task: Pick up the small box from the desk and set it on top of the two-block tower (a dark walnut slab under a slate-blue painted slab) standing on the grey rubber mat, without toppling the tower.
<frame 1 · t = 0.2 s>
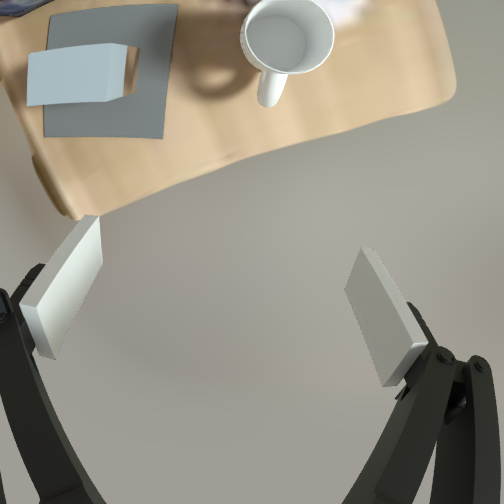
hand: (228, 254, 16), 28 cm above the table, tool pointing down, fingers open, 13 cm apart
mat: (102, 70, 33), on the table
block bottom: (101, 71, 33), resting on mat, touching block top
mug: (270, 57, 34), on the table
block top: (85, 72, 28), point 5 cm above the table, touching block bottom
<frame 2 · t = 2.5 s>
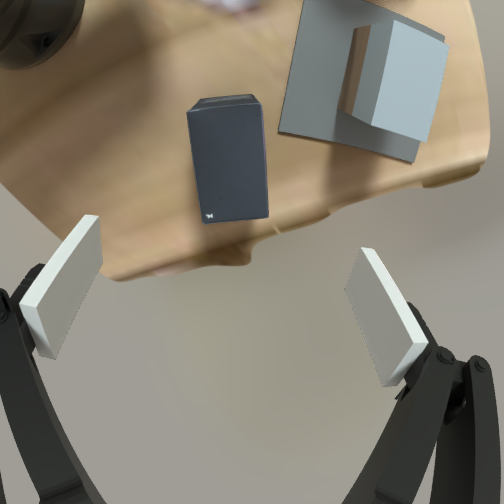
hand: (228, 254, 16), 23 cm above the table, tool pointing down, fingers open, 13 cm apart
mat: (368, 74, 31), on the table
block bottom: (370, 75, 31), resting on mat, touching block top
small box: (231, 139, 35), on the table
block top: (388, 77, 26), point 5 cm above the table, touching block bottom
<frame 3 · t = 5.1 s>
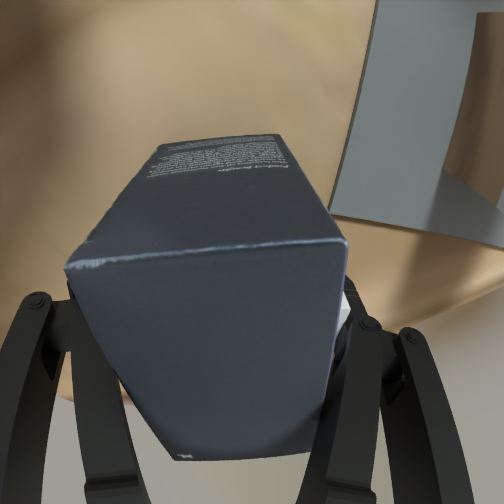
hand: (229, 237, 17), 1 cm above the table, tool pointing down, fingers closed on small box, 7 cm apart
mat: (493, 105, 13), on the table
block bottom: (497, 106, 13), resting on mat, touching block top
small box: (230, 229, 18), on the table, touching gripper
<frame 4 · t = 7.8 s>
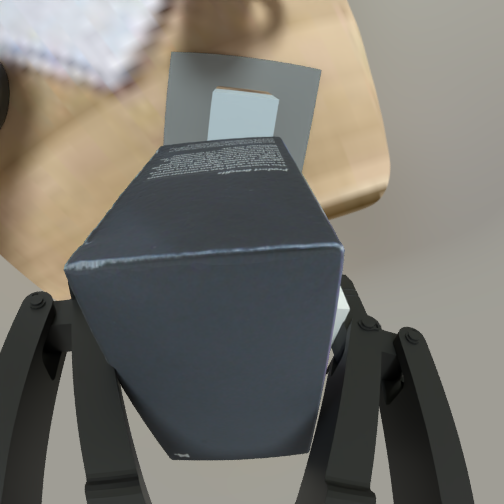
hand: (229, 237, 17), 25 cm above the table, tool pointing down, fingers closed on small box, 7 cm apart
mat: (237, 127, 38), on the table
small box: (230, 231, 18), point 25 cm above the table, touching gripper
block top: (238, 135, 33), point 5 cm above the table, touching block bottom
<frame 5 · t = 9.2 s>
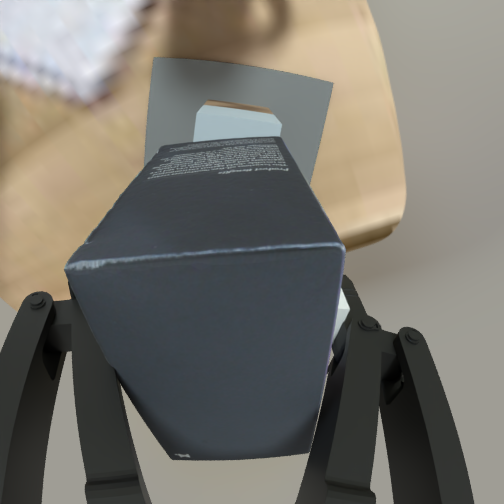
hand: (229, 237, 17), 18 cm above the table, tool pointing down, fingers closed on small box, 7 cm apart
mat: (230, 149, 32), on the table
block bottom: (230, 149, 32), resting on mat, touching block top
small box: (230, 231, 18), point 17 cm above the table, touching gripper
block top: (230, 163, 28), point 5 cm above the table, touching block bottom
when the fingers open (13 cm above the table, at t = 10.6 s): small box drops 1 cm, resting on block top.
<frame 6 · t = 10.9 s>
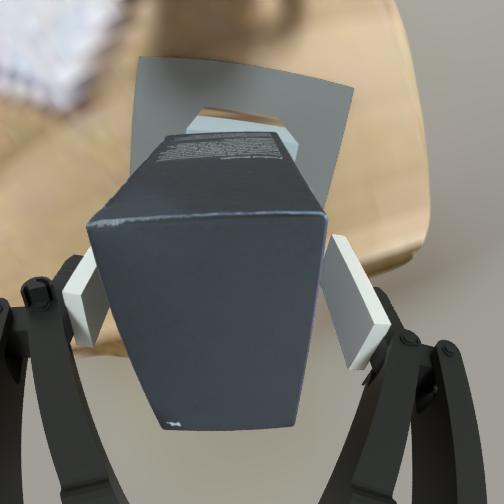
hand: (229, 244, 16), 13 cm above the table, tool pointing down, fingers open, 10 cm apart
mat: (231, 166, 28), on the table
block bottom: (231, 167, 27), resting on mat, touching block top
small box: (226, 218, 19), point 10 cm above the table, touching block top
block top: (231, 188, 23), point 5 cm above the table, touching block bottom, small box
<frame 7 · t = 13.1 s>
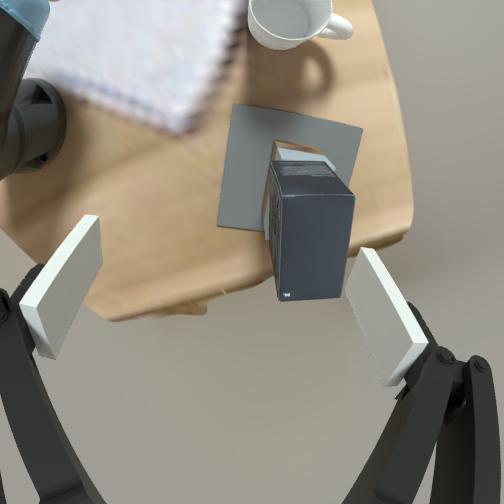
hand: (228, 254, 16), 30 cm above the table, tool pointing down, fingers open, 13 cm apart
mat: (288, 175, 45), on the table
block bottom: (288, 176, 44), resting on mat, touching block top
mug: (293, 27, 34), on the table
small box: (297, 204, 36), point 10 cm above the table, touching block top
block top: (293, 189, 40), point 5 cm above the table, touching block bottom, small box
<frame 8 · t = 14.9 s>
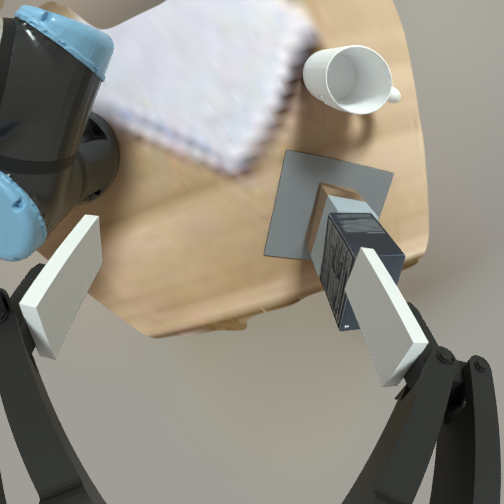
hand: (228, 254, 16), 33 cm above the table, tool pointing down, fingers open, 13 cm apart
mat: (328, 213, 51), on the table
block bottom: (329, 214, 51), resting on mat, touching block top
mug: (342, 80, 40), on the table
small box: (345, 246, 42), point 10 cm above the table, touching block top
block top: (337, 229, 46), point 5 cm above the table, touching block bottom, small box
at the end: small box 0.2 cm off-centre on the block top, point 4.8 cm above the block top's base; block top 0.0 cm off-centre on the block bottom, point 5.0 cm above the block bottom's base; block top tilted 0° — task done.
